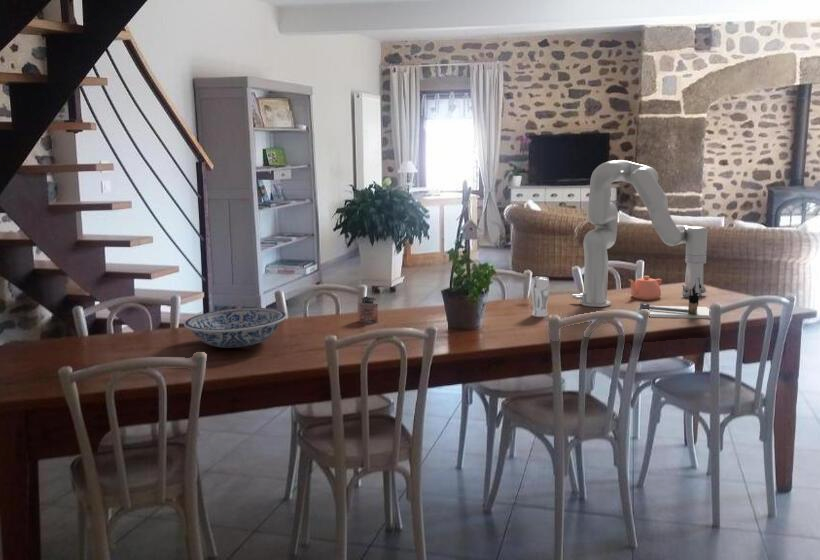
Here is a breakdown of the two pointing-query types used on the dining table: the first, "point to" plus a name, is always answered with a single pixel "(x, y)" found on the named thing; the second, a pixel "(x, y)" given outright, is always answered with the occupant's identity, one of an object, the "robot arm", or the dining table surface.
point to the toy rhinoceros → (687, 291)
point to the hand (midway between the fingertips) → (693, 305)
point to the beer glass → (540, 296)
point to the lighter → (368, 310)
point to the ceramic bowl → (235, 326)
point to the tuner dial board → (701, 312)
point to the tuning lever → (691, 309)
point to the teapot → (646, 288)
